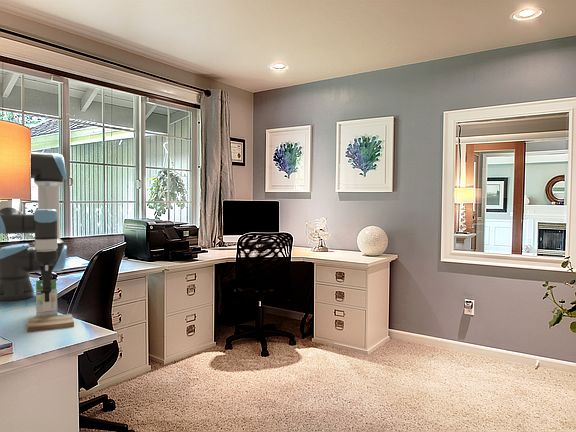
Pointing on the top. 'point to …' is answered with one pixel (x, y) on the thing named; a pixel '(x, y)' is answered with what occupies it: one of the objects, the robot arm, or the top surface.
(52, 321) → the board
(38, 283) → the ink box
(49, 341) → the top surface
